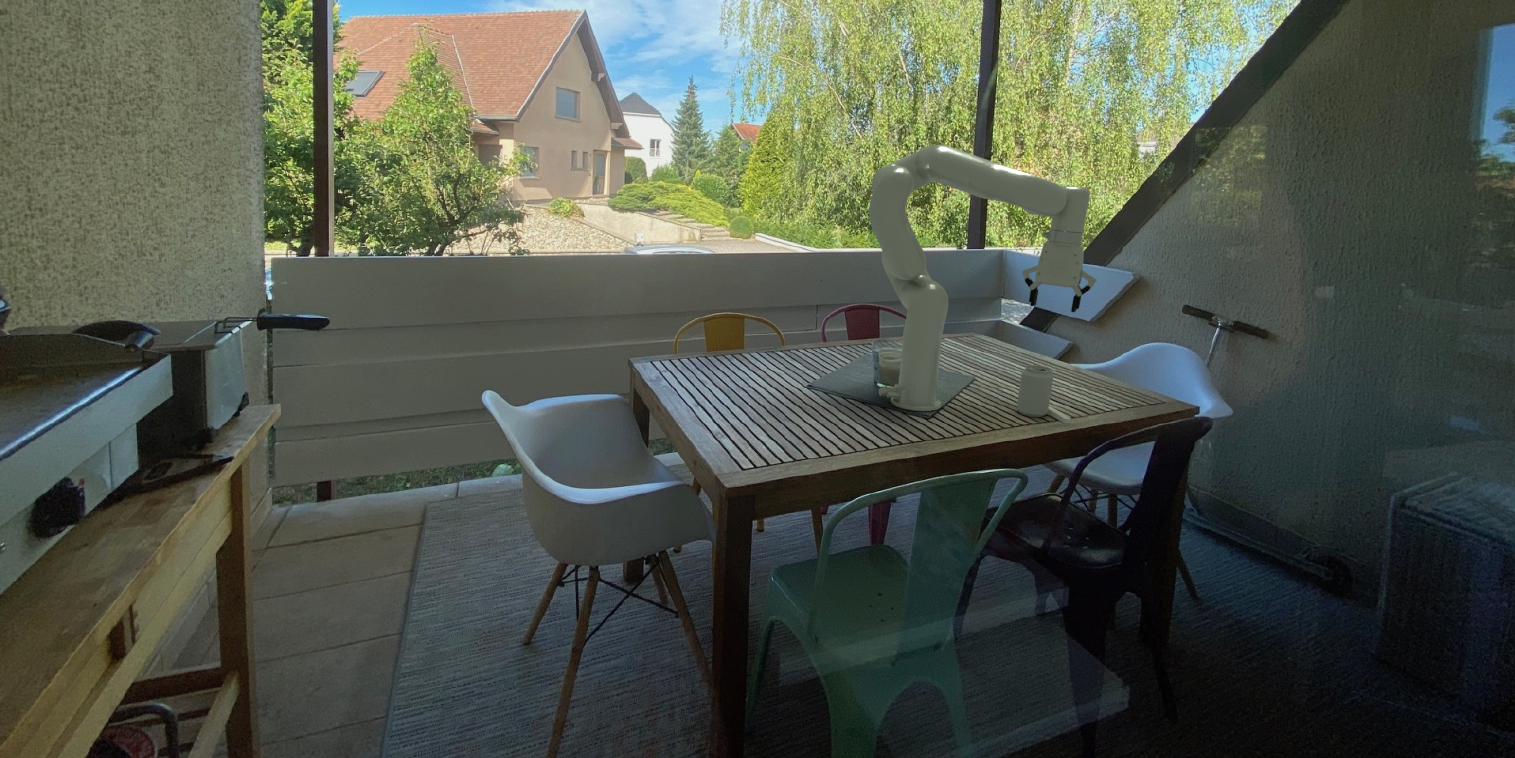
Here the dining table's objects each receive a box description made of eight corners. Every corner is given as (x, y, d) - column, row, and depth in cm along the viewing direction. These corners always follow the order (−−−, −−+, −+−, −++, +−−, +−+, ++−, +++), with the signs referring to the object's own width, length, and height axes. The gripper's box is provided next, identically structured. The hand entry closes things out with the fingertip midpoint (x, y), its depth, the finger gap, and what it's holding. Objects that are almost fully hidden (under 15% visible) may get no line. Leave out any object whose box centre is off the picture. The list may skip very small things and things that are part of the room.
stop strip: (1064, 423, 187) (1065, 418, 186) (1029, 401, 204) (1029, 397, 204) (1070, 423, 187) (1071, 418, 187) (1035, 401, 204) (1035, 397, 204)
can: (1049, 419, 189) (1056, 372, 186) (1017, 416, 191) (1024, 369, 188) (1045, 410, 197) (1052, 365, 193) (1014, 407, 198) (1020, 362, 195)
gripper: (1025, 235, 187) (1013, 305, 192) (1101, 243, 179) (1087, 315, 184) (1031, 234, 194) (1020, 302, 198) (1105, 242, 185) (1092, 312, 190)
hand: (1053, 308), depth 191 cm, fingers open, 9 cm apart
